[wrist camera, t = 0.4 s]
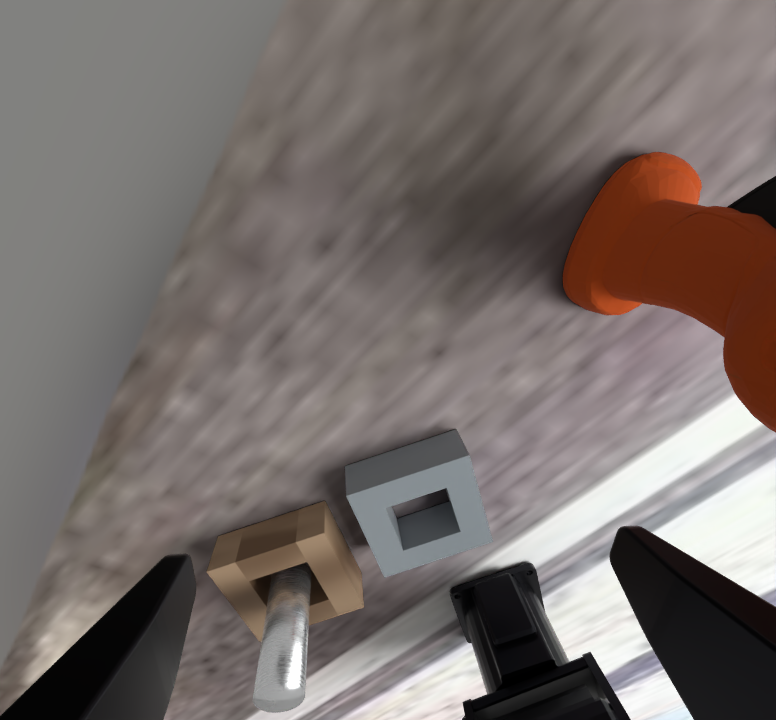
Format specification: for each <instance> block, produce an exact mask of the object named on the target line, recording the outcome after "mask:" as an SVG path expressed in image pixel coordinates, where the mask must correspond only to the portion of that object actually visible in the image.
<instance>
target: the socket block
mask: <svg viewBox="0 0 776 720" xmlns="http://www.w3.org/2000/svg"><path fill="white" fill-rule="evenodd" d="M305 562H307V563H308V564H309V566H310V568H311V569H312V570H311V588H310V607H309V625H312V624H315V623H318V622H321V621H324V620H327V619H330V618H333V617H336V616H340V615H343V614H346V613H349V612H352V611H355V610H358V609H361V608H364V601H363V588H362V575H361V571H360V569H359V567H358V565H357V563H356V561H355V559H354V557H353V555H352V553H351V551H350V549H349V547H348V545H347V543H346V541H345V539H344V537H343V535H342V533H341V531H340V529H339V527H338V525H337V523H336V521H335V519H334V517H333V515H332V513H331V511H330V509H329V507H328V505H327V503H326V501H323V502H320V503H317V504H314V505H311V506H308V507H305V508H302V509H299V510H296V511H293V512H290V513H287V514H284V515H281V516H278V517H275V518H272V519H269V520H266V521H263V522H260V523H257V524H254V525H251V526H248V527H245V528H242V529H239V530H236V531H233V532H230V533H227V534H224V535H221V536H218V538H217V541H216V544H215V547H214V550H213V554H212V557H211V560H210V563H209V566H208V569H207V573H208V575H209V576H210V577H211V578H212V580H213V581H214V582H215V584H216V585H217V586H218V588H219V589H220V590H221V592H222V593H223V594H224V596H225V597H226V598H227V600H228V601H229V602H230V603H231V605H232V606H233V607H234V609H235V610H236V611H237V613H238V614H239V615H240V617H241V618H242V619H243V621H244V622H245V623H246V625H247V626H248V627H249V628H250V630H251V631H252V632H253V634H254V635H255V636H256V638H257V639H258V640H259V642H261V641H262V635H263V629H264V622H265V616H266V609H267V603H268V596H269V590H270V583H271V577H272V573H275V572H278V571H281V570H284V569H287V568H290V567H293V566H296V565H299V564H302V563H305Z"/></svg>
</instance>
